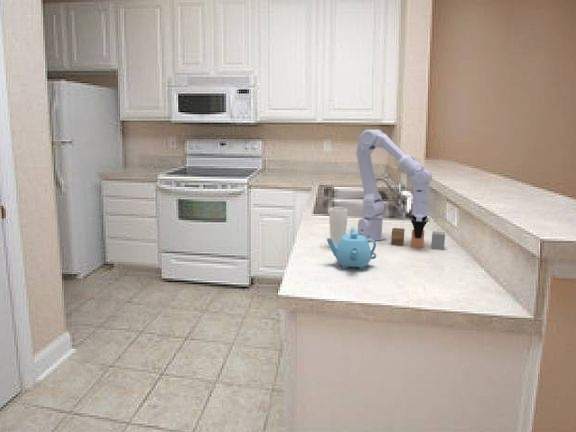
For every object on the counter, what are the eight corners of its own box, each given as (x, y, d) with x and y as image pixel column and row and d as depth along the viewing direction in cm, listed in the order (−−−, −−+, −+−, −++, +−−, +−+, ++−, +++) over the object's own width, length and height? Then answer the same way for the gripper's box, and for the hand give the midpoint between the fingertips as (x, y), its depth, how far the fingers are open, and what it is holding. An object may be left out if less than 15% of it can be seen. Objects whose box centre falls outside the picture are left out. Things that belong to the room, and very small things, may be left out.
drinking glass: (325, 245, 169) (326, 207, 165) (340, 243, 171) (341, 206, 168) (333, 250, 163) (335, 211, 159) (349, 248, 165) (351, 209, 162)
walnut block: (402, 246, 169) (403, 231, 168) (391, 245, 170) (391, 230, 169) (403, 243, 173) (404, 228, 172) (391, 242, 175) (392, 227, 173)
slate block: (443, 250, 165) (445, 234, 163) (431, 249, 166) (432, 233, 165) (443, 247, 169) (444, 232, 168) (431, 245, 170) (432, 231, 169)
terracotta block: (423, 248, 167) (424, 233, 166) (410, 247, 168) (412, 232, 167) (423, 245, 171) (424, 230, 170) (411, 244, 172) (412, 229, 171)
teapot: (321, 263, 148) (322, 231, 146) (350, 256, 156) (352, 225, 154) (353, 276, 136) (354, 241, 134) (383, 268, 144) (385, 235, 142)
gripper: (431, 205, 158) (428, 241, 161) (431, 198, 171) (429, 232, 174) (411, 204, 160) (409, 239, 163) (413, 197, 173) (410, 230, 176)
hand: (418, 235), depth 169 cm, fingers open, 7 cm apart
